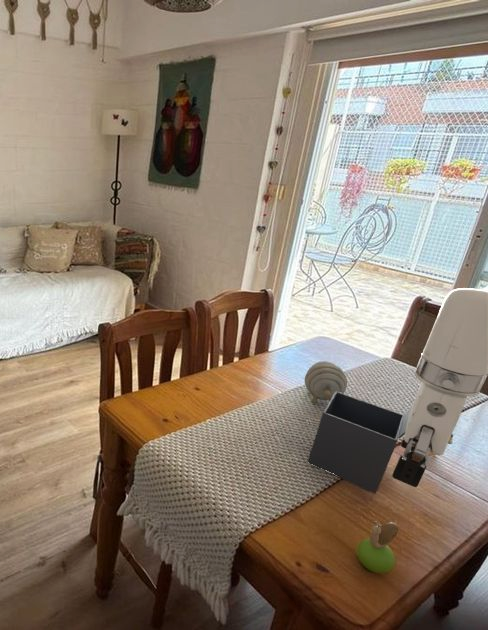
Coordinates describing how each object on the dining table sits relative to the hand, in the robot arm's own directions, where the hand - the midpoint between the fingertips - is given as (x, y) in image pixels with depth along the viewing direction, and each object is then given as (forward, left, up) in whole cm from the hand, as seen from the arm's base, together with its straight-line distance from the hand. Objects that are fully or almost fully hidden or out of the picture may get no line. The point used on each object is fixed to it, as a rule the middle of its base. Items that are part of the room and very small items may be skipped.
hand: (408, 465), depth 70 cm
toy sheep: (+20, -52, -23) cm, 60 cm away
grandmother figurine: (-6, -45, -23) cm, 51 cm away
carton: (+8, -26, -23) cm, 36 cm away
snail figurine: (-1, +1, -23) cm, 23 cm away
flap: (+1, -26, -5) cm, 27 cm away
